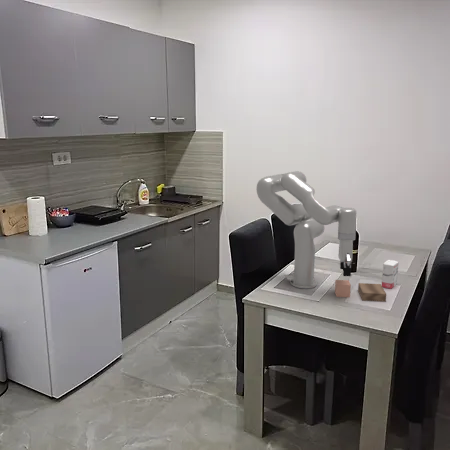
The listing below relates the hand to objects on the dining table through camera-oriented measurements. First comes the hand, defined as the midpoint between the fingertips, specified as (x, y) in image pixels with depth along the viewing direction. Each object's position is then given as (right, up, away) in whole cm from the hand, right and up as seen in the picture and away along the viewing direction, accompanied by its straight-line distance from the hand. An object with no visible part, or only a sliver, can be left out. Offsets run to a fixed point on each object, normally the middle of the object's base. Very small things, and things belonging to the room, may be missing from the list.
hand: (345, 272), depth 200 cm
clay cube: (-1, -11, +3) cm, 11 cm away
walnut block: (+12, -11, +2) cm, 17 cm away
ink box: (+25, -8, +14) cm, 30 cm away
